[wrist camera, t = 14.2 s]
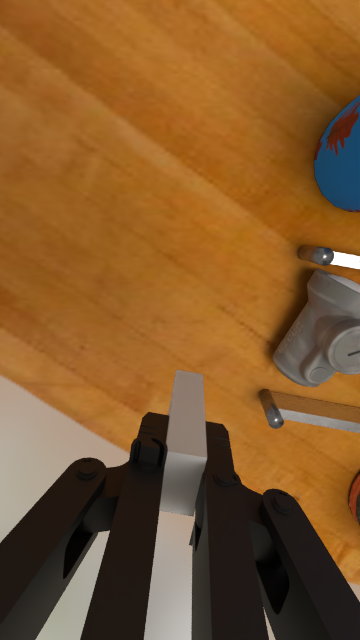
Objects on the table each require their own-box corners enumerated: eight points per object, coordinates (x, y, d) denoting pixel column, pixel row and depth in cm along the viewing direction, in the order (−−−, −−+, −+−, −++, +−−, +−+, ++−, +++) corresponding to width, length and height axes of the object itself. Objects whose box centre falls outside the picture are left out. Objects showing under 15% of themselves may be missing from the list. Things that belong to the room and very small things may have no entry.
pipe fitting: (308, 257, 35) (352, 284, 26) (368, 287, 36) (431, 324, 27) (253, 343, 39) (273, 393, 30) (307, 367, 41) (343, 423, 31)
